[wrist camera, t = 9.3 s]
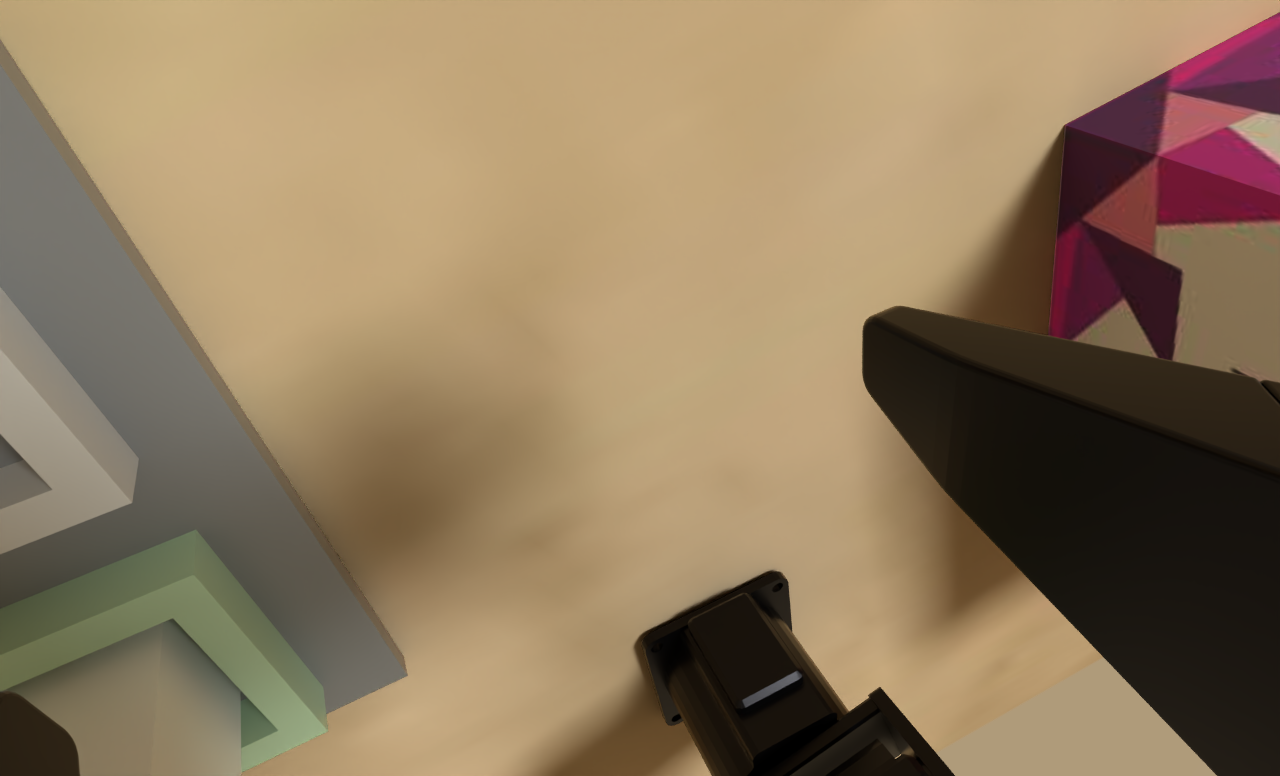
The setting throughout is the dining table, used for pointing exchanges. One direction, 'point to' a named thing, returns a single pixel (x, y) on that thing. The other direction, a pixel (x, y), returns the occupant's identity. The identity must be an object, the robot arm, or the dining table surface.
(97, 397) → the panel
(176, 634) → the plug
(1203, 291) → the decorative box
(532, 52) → the dining table surface
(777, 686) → the robot arm
